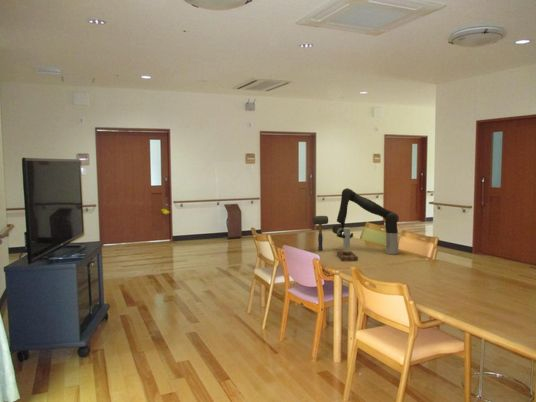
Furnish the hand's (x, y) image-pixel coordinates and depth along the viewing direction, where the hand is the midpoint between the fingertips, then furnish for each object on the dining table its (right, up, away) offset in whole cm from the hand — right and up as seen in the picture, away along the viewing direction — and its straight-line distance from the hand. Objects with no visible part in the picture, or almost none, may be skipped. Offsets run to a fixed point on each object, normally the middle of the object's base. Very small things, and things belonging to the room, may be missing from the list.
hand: (347, 236), depth 325 cm
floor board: (0, -17, +4) cm, 17 cm away
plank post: (0, -8, +4) cm, 9 cm away
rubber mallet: (-17, -15, +33) cm, 40 cm away
